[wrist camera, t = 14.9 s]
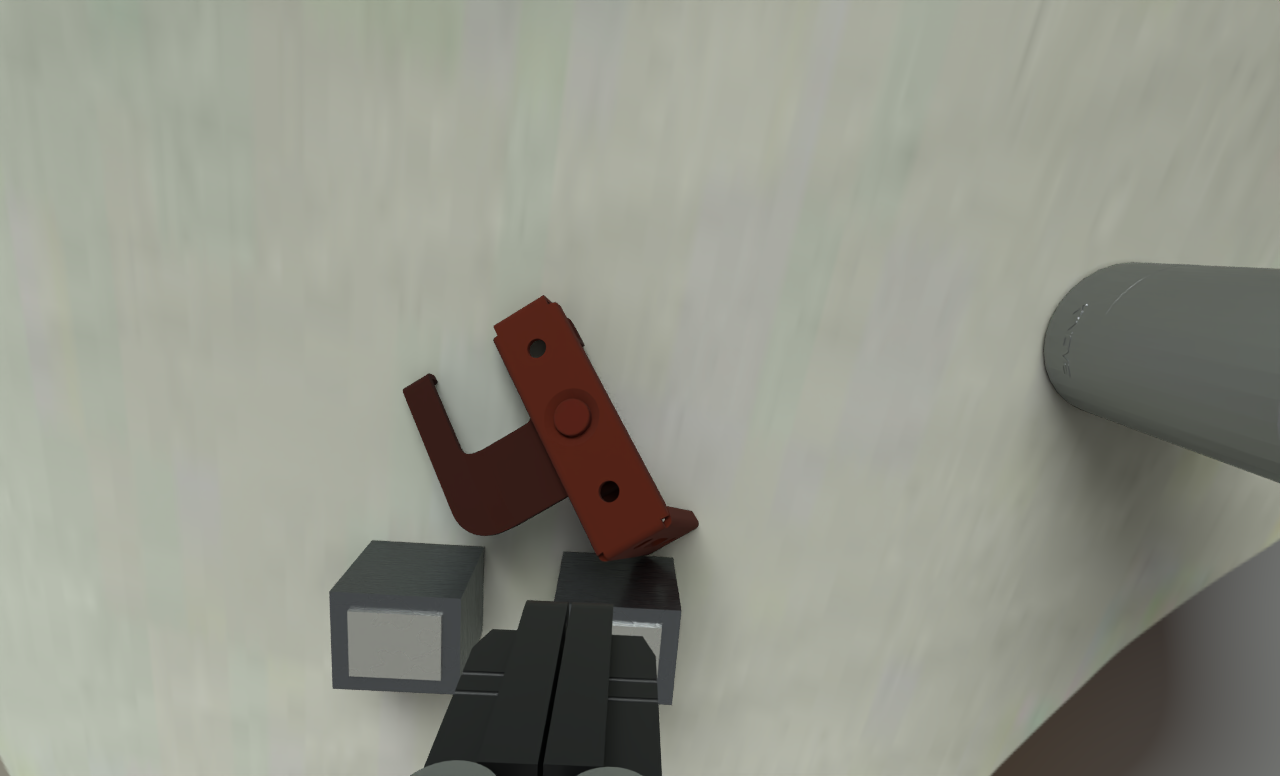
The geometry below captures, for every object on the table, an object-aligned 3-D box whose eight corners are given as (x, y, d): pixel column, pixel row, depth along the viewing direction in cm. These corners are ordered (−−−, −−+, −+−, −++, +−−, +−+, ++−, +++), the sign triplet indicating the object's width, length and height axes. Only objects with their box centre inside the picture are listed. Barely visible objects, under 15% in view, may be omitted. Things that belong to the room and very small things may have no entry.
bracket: (561, 603, 42) (491, 625, 32) (475, 415, 46) (392, 384, 36) (701, 525, 41) (672, 523, 31) (600, 340, 45) (547, 288, 35)
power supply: (484, 547, 40) (460, 600, 34) (482, 634, 42) (458, 700, 36) (372, 540, 40) (327, 593, 34) (373, 628, 41) (331, 694, 35)
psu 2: (673, 557, 41) (681, 612, 35) (664, 643, 42) (671, 711, 36) (563, 551, 41) (553, 605, 35) (558, 638, 42) (548, 705, 36)
